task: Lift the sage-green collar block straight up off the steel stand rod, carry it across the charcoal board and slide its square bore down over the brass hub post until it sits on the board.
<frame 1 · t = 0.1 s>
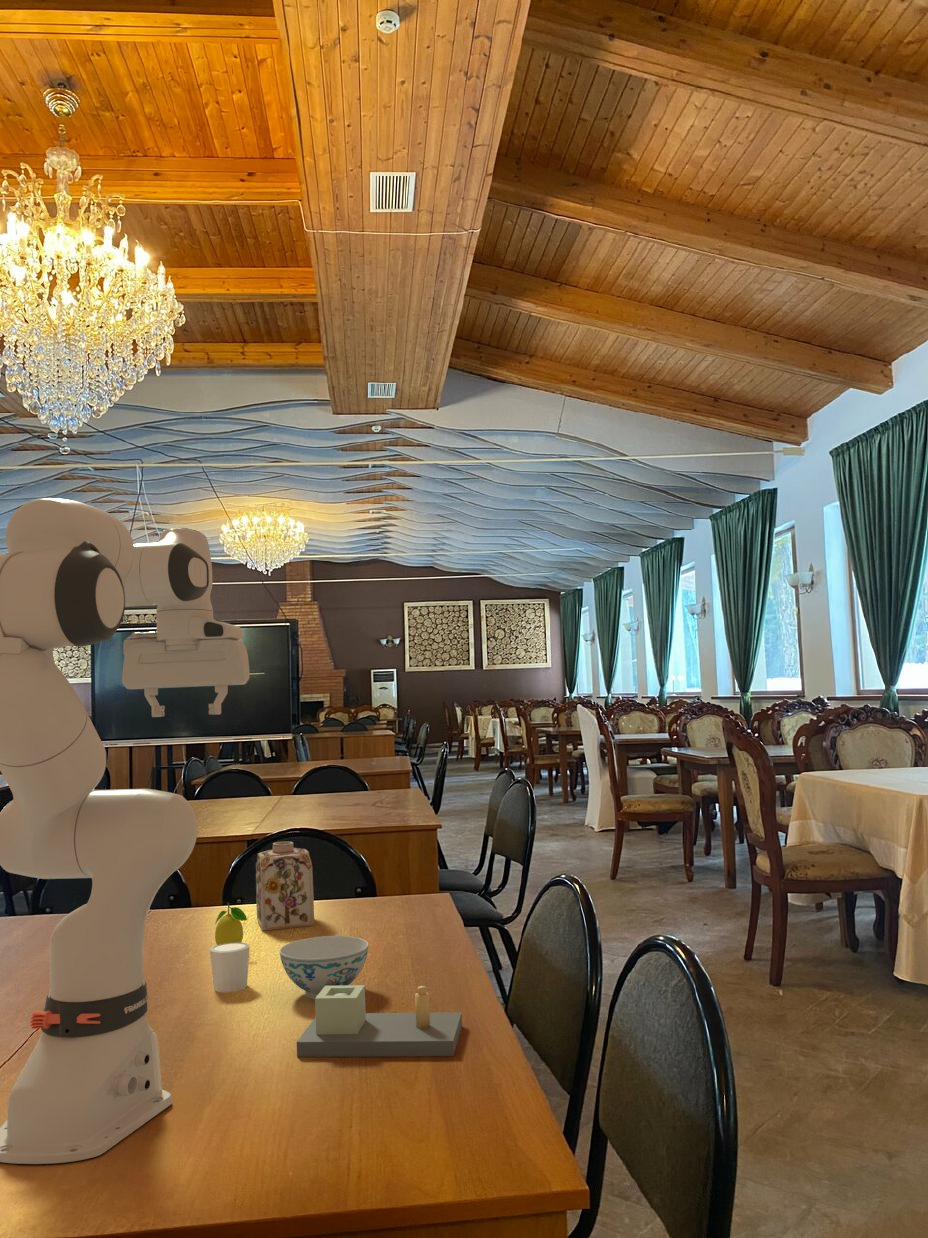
hand: (186, 715, 154), 48 cm above the table, fingers open, 8 cm apart
shot glass: (230, 988, 168), on the table
chinaware: (325, 994, 163), on the table
lemon: (230, 954, 192), on the table
decorative jar: (285, 924, 216), on the table
stand board: (382, 1041, 139), on the table
collar block: (341, 1027, 139), point 2 cm above the table, touching stand board
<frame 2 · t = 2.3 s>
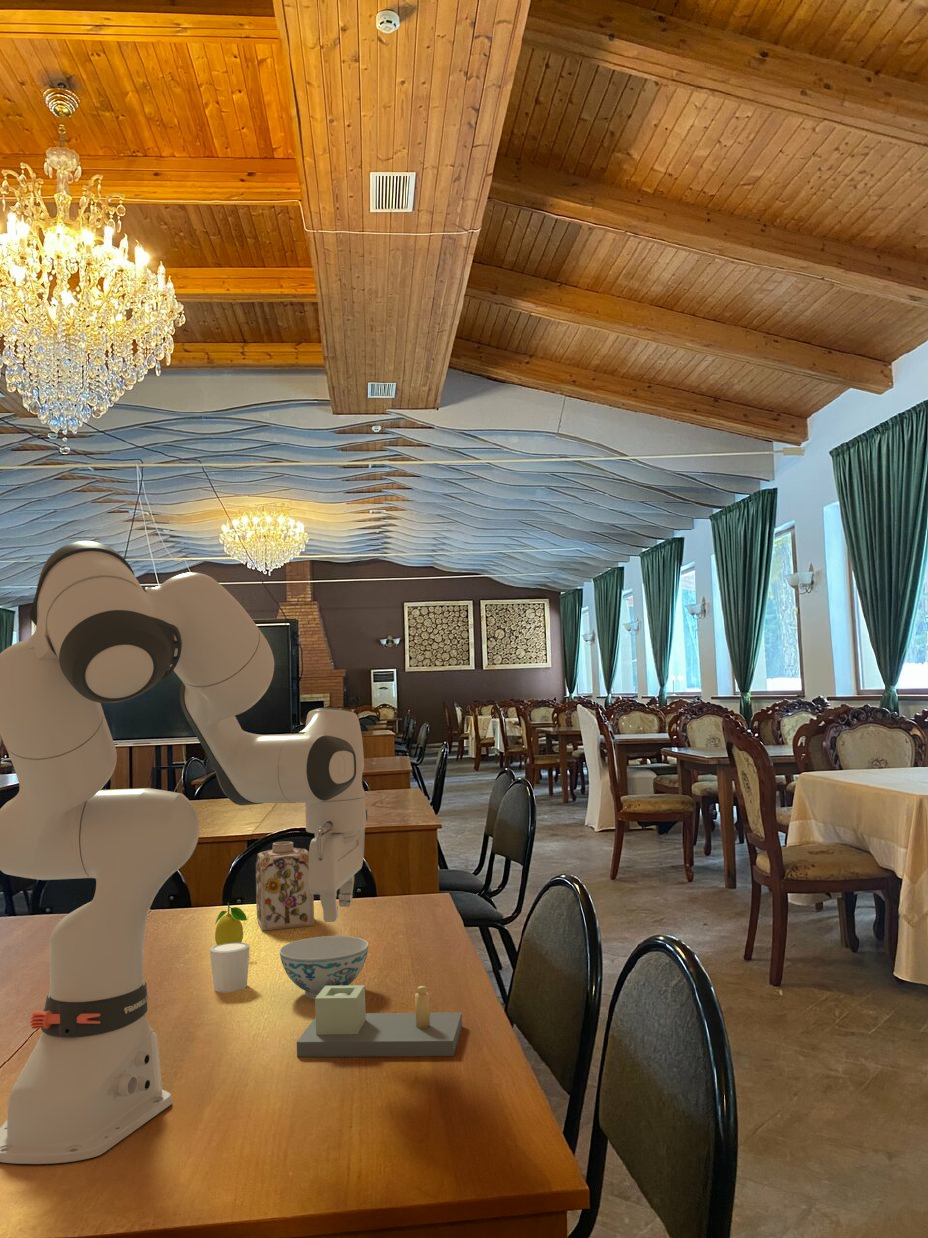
hand: (338, 913, 141), 18 cm above the table, fingers open, 8 cm apart
nothing on the table moved.
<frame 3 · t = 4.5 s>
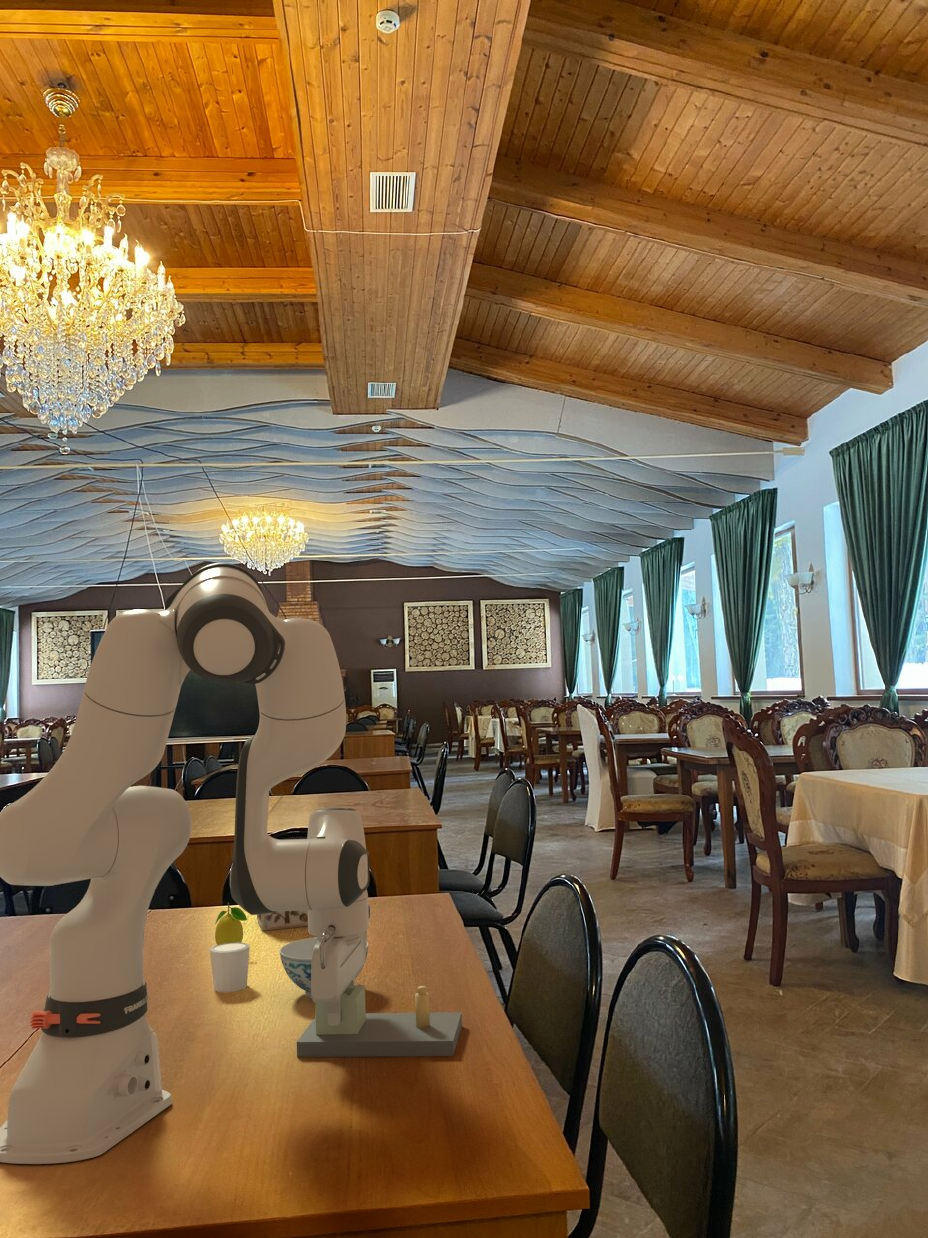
hand: (341, 1015, 139), 4 cm above the table, fingers closed on collar block, 6 cm apart
collar block: (341, 1027, 139), point 2 cm above the table, touching gripper, stand board
everything else where it was.
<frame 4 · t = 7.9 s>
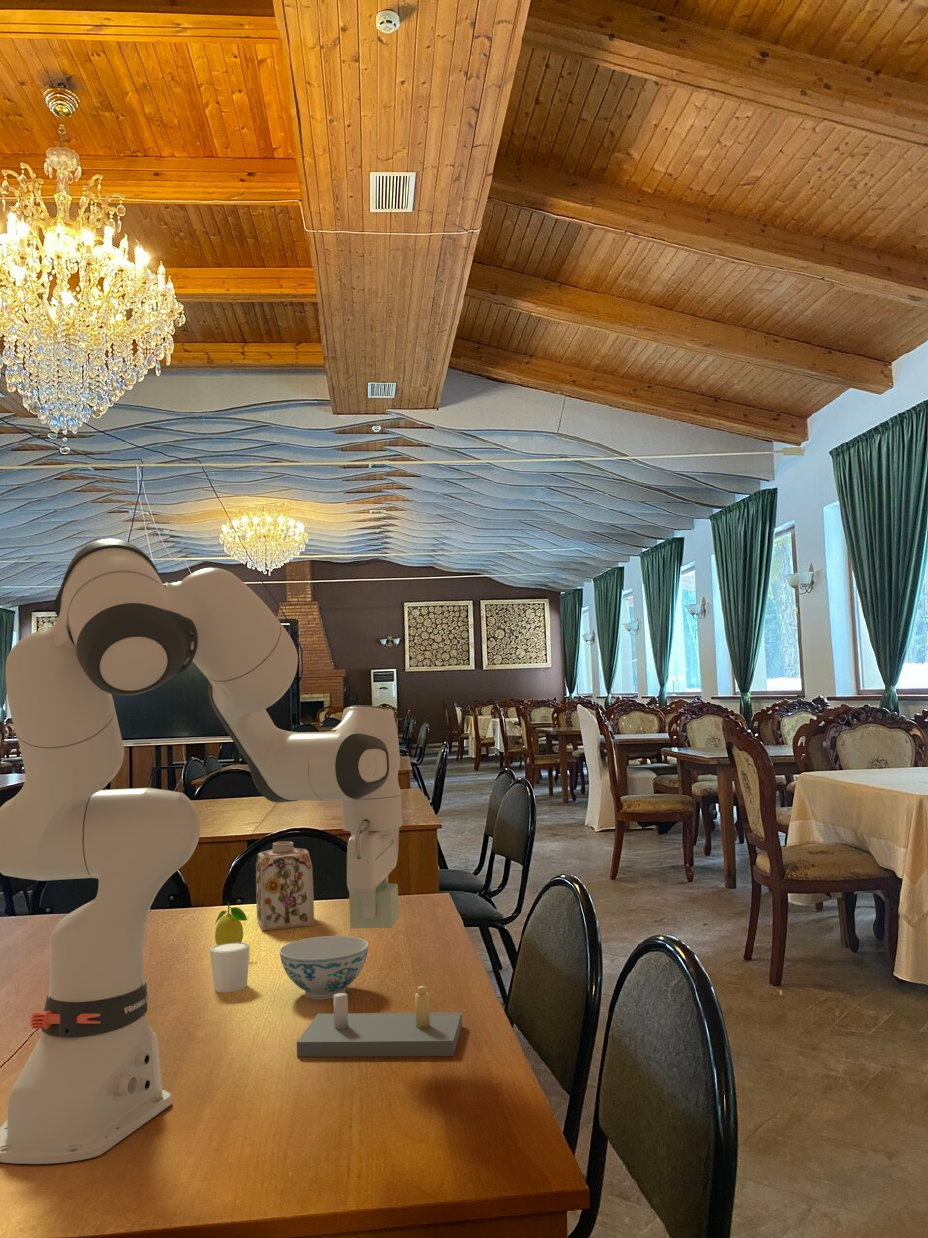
hand: (375, 911, 140), 18 cm above the table, fingers closed on collar block, 6 cm apart
collar block: (375, 923, 140), point 17 cm above the table, touching gripper
everything else where it was.
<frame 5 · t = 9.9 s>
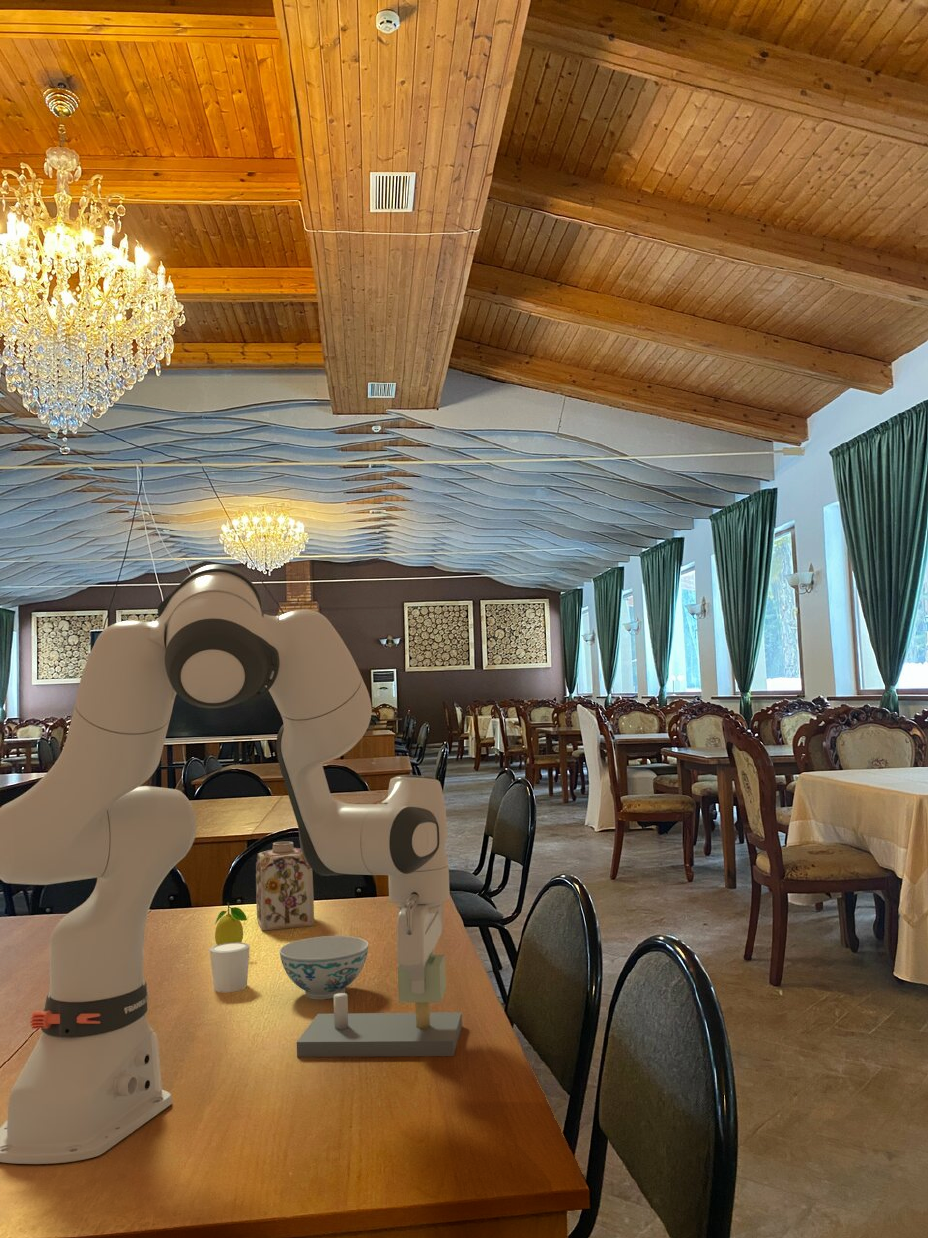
hand: (422, 984, 138), 8 cm above the table, fingers closed on collar block, 6 cm apart
collar block: (422, 996, 138), point 6 cm above the table, touching gripper
everything else where it was.
when the fingers open (4 cm above the table, at t = 11.6 s): collar block stays where it is, resting on stand board.
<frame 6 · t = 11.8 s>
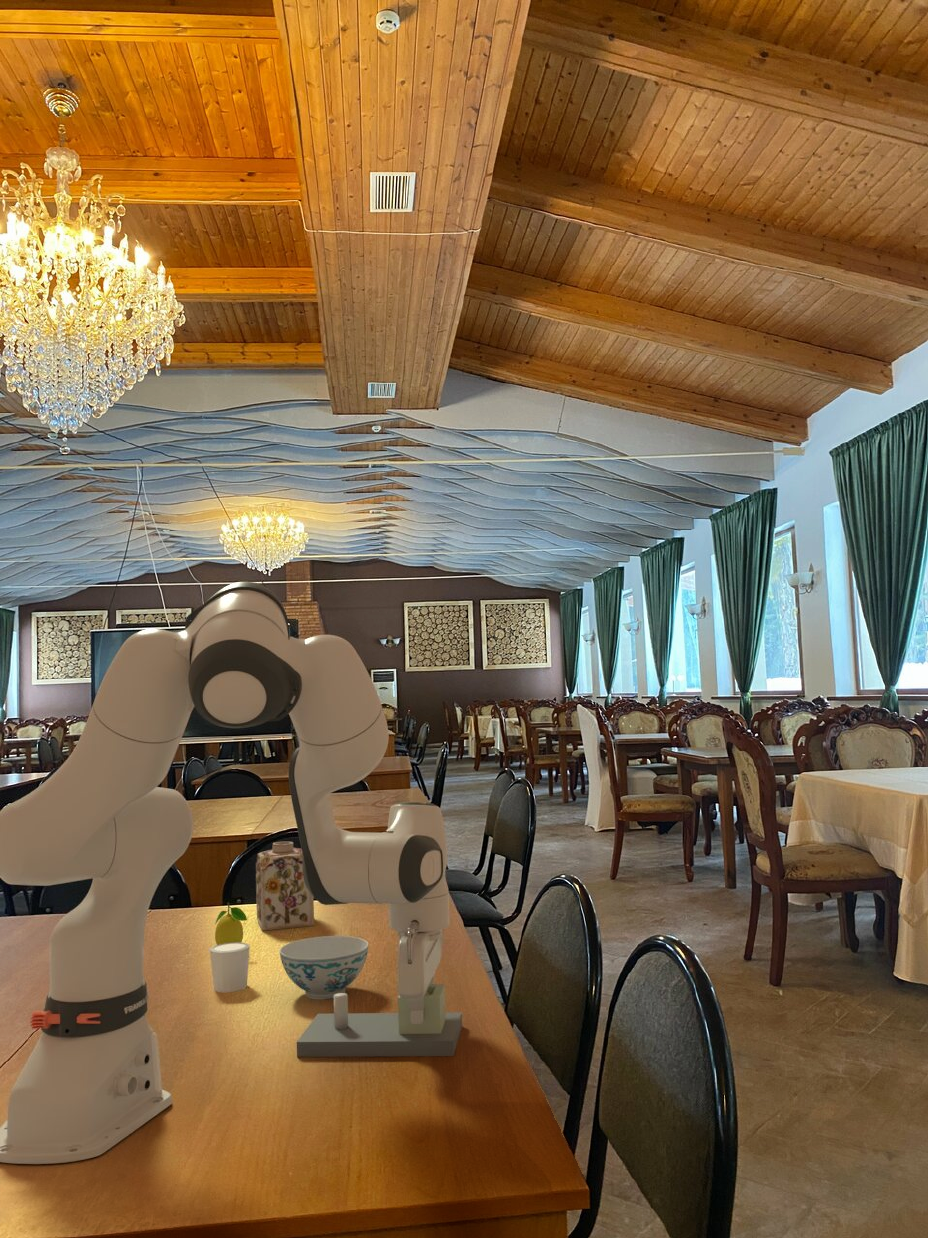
hand: (422, 1011, 138), 4 cm above the table, fingers open, 8 cm apart
collar block: (422, 1026, 138), point 2 cm above the table, touching stand board
everything else where it was.
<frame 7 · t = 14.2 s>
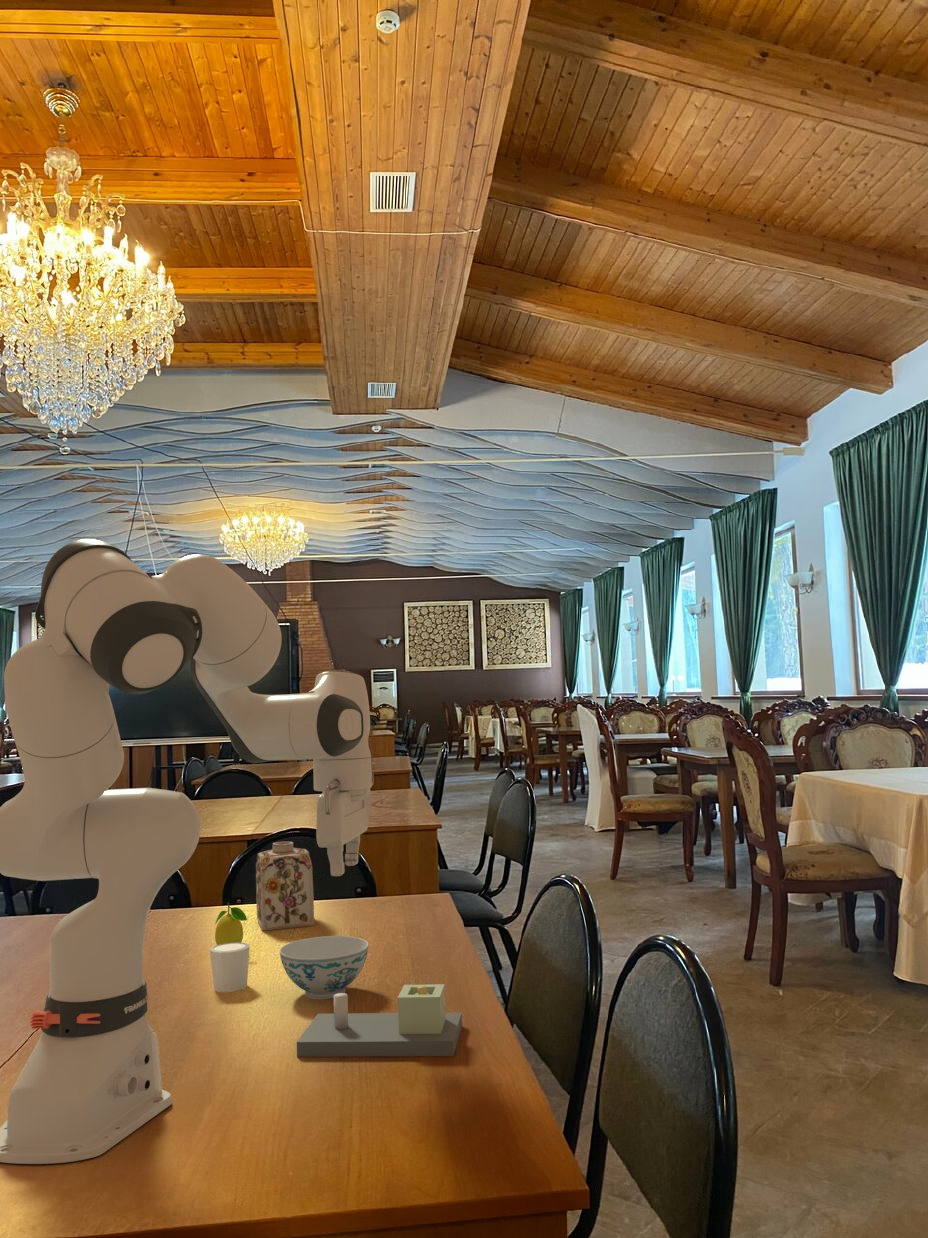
hand: (344, 870, 145), 24 cm above the table, fingers open, 8 cm apart
nothing on the table moved.
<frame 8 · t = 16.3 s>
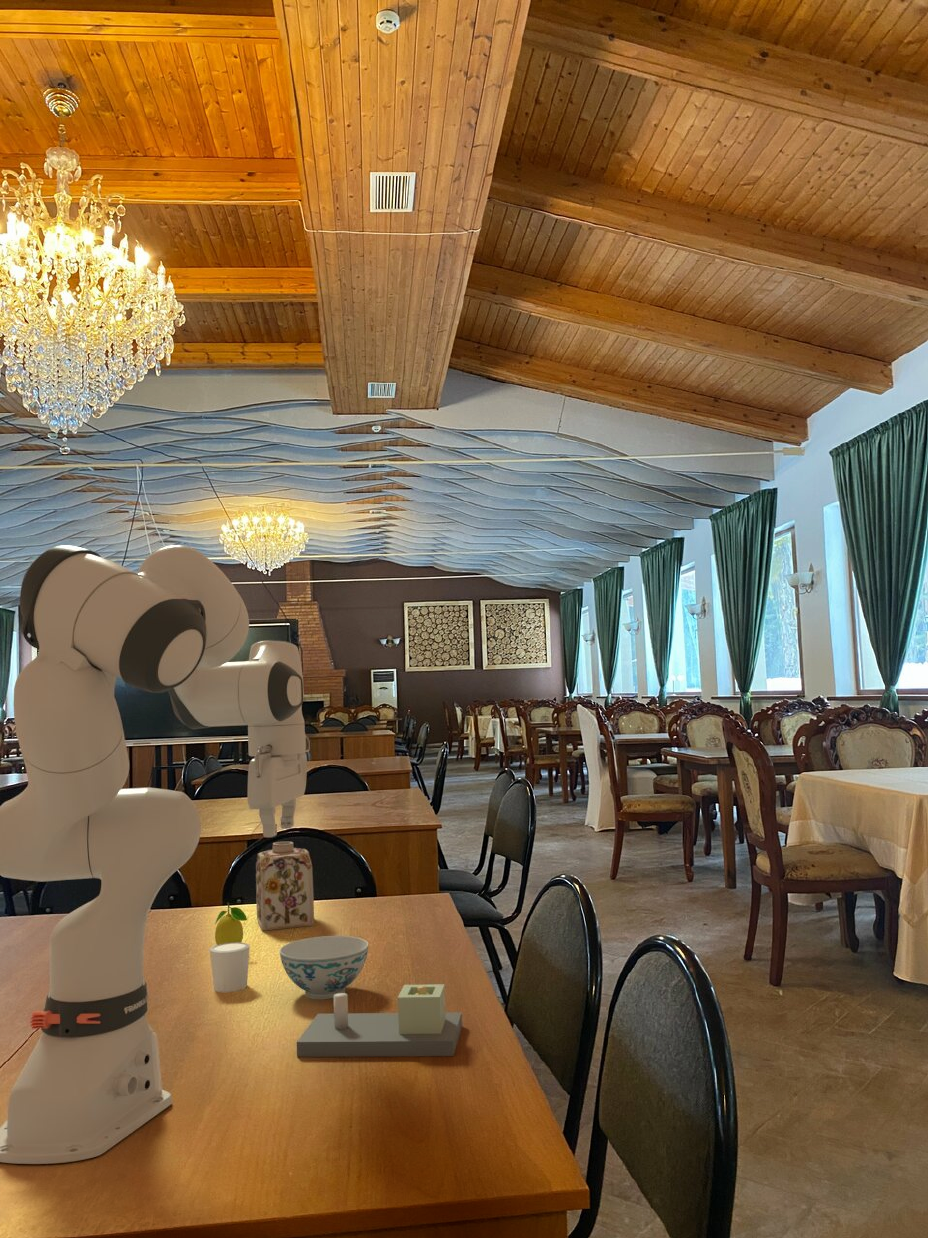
hand: (279, 832, 150), 29 cm above the table, fingers open, 8 cm apart
nothing on the table moved.
at the end: collar block 0.0 cm from the target spot on the stand board, point 2.0 cm above the stand board's base; collar block tilted 0°; the gripper is holding nothing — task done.
